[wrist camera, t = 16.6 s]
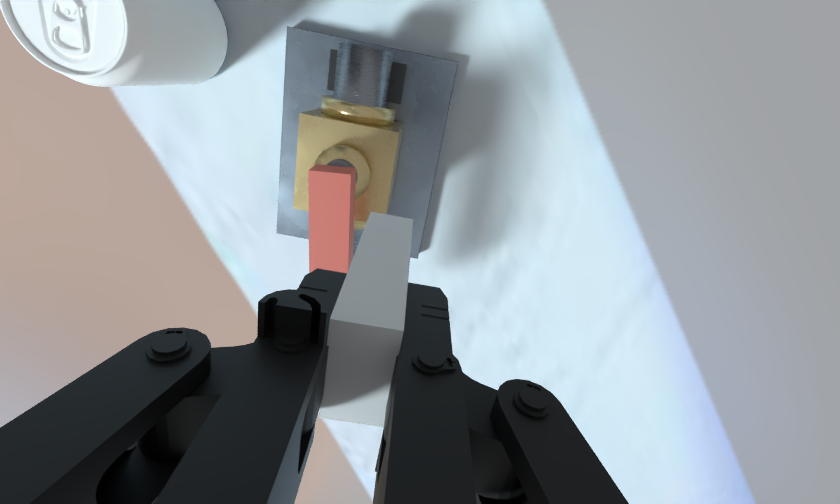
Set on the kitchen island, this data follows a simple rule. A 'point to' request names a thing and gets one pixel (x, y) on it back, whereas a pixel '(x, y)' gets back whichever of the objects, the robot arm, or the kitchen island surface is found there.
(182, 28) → the beverage can
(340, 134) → the valve fixture
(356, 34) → the kitchen island surface
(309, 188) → the lever
